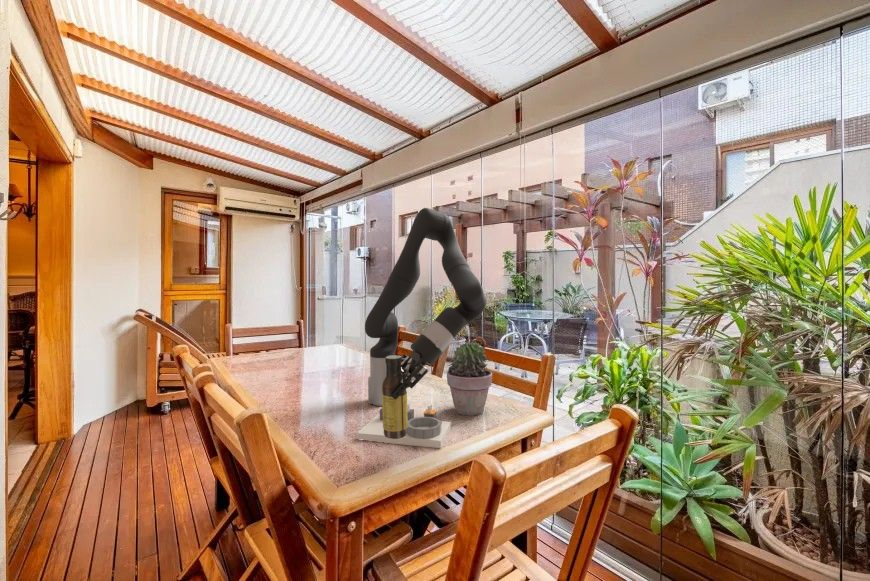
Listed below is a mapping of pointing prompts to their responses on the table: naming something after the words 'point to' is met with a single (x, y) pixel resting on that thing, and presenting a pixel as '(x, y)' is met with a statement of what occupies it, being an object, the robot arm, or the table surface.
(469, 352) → the potted plant
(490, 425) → the table surface
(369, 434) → the breaker board
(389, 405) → the sauce bottle
